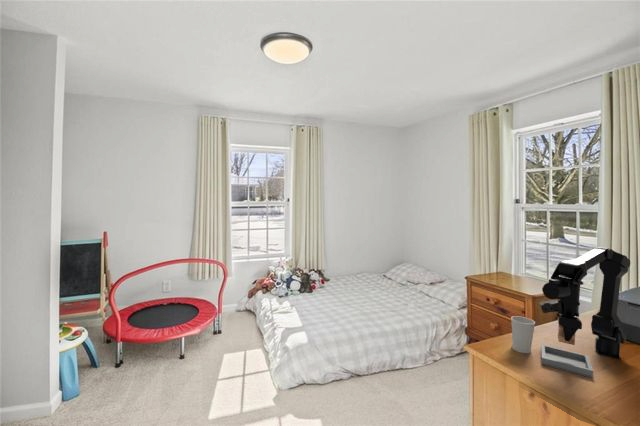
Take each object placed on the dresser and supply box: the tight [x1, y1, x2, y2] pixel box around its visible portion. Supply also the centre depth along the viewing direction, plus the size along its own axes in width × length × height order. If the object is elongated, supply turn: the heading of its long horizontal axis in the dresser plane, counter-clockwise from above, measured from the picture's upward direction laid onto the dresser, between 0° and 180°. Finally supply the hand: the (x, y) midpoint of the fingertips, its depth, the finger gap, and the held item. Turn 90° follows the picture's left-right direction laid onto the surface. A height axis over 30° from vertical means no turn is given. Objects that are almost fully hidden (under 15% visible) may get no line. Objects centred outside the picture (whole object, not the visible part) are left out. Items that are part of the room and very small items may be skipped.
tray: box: [540, 343, 594, 379], centre depth 112 cm, size 14×13×2 cm
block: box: [557, 324, 576, 346], centre depth 112 cm, size 4×4×5 cm
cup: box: [510, 315, 536, 354], centre depth 122 cm, size 8×8×12 cm
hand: (566, 338), depth 112 cm, fingers closed on block, 4 cm apart
